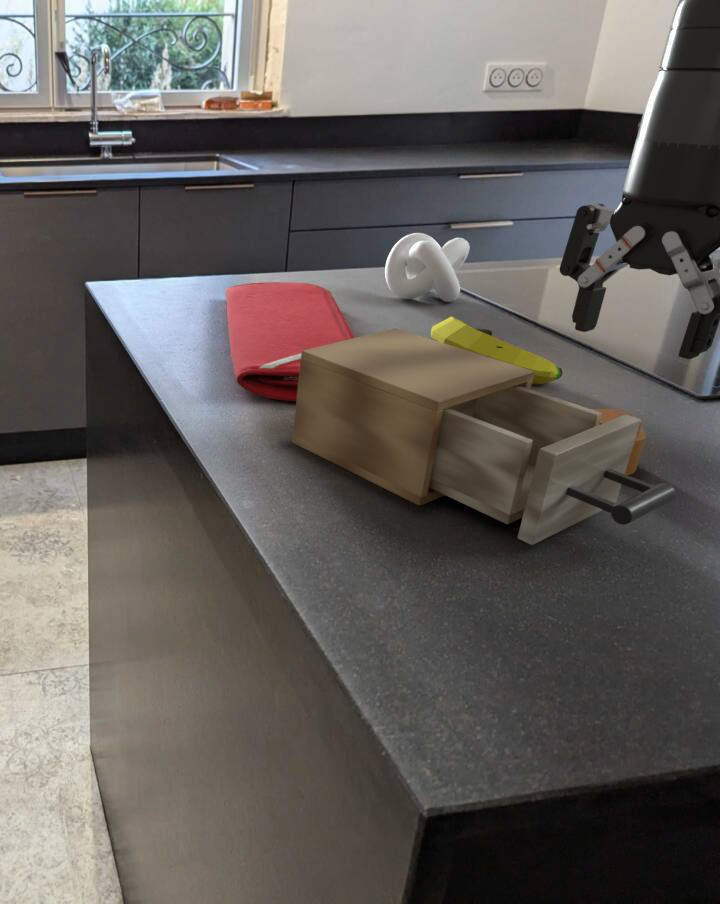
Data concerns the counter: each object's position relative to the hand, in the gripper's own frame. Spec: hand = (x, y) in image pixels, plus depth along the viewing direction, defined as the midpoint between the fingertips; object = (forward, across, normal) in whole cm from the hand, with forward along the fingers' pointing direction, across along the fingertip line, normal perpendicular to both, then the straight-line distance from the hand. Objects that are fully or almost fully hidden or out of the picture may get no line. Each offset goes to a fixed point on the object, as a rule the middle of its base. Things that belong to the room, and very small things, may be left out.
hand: (633, 342), depth 69 cm
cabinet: (+11, +11, +14) cm, 21 cm away
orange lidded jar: (+11, 0, 0) cm, 11 cm away
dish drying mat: (+12, +40, -1) cm, 42 cm away
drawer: (+10, -1, +14) cm, 17 cm away
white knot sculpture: (+11, +46, -35) cm, 59 cm away
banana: (+11, +22, -17) cm, 30 cm away
